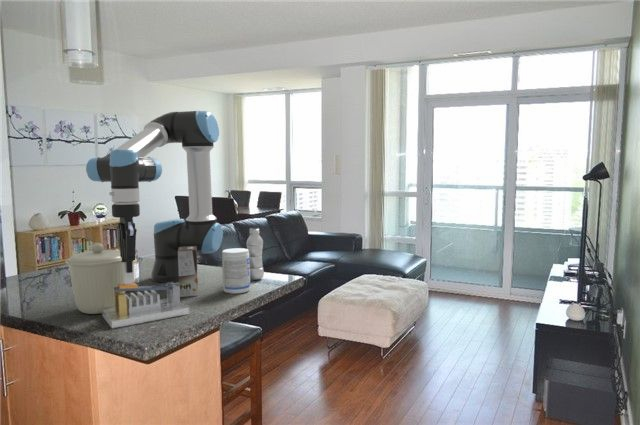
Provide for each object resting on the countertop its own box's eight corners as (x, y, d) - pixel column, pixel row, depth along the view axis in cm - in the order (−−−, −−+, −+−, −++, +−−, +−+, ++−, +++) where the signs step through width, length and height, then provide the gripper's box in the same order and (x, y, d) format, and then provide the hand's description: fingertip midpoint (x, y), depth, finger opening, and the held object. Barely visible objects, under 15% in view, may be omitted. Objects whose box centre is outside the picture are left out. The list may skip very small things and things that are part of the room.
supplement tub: (254, 291, 173) (253, 250, 171) (229, 296, 167) (228, 253, 166) (243, 286, 181) (242, 246, 179) (219, 289, 176) (217, 249, 174)
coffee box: (198, 296, 168) (196, 249, 166) (179, 297, 166) (177, 250, 165) (198, 289, 177) (196, 245, 175) (179, 290, 175) (178, 246, 173)
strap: (113, 290, 143) (113, 283, 143) (173, 288, 153) (174, 281, 153) (115, 293, 141) (116, 285, 141) (176, 290, 151) (177, 283, 151)
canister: (141, 309, 153) (138, 242, 151) (80, 322, 141) (76, 250, 139) (118, 298, 166) (115, 236, 164) (60, 309, 154) (56, 243, 152)
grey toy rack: (102, 315, 147) (100, 289, 146) (174, 303, 160) (173, 279, 159) (112, 328, 136) (110, 300, 135) (189, 313, 148) (188, 288, 147)
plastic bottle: (243, 280, 189) (242, 229, 187) (255, 276, 195) (253, 227, 193) (256, 282, 186) (254, 230, 184) (267, 278, 191) (266, 228, 189)
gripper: (107, 202, 145) (110, 280, 147) (116, 205, 134) (120, 289, 136) (133, 201, 149) (136, 277, 151) (144, 203, 138) (147, 285, 141)
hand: (128, 282), depth 144 cm, fingers closed
